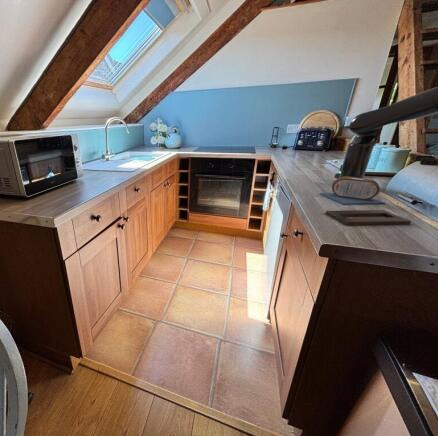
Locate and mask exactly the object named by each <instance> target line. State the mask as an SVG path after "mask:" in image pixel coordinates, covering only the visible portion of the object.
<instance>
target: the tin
mask: <svg viewBox="0 0 438 436" xmlns="http://www.w3.org/2000/svg"><path fill="white" fill-rule="evenodd" d="M331 191H332V193H334V194H336V195H337V196H340V197H346V198H354V199H361V200H368V199H371V198H373V199H374V198H375V197H376V196H377V195H378V194H379V192H380V184H379V183H378V182H377V181H376V180H374V179H372V178H366V177H364V178H356V177H340V178H338V179H337V178H335V180H334V181H333V182H332V184H331Z"/></svg>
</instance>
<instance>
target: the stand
mask: <svg viewBox="0 0 438 436" xmlns="http://www.w3.org/2000/svg"><path fill="white" fill-rule="evenodd" d="M325 215H327V216H329V217H330V218H332V219H333V220H336V221H337V222H340V223H341V224H343V225H345V226H391V225H393V226H394V225H399V226H401V225H404V226H405V225H411V223H412V220H410V219H407V218H405V217H403V216H399V215H397V214H395V213H392V212H390V211H388V210H384V209H363V210H358V209H357V210H353V209H351V210H325Z"/></svg>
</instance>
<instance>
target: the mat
mask: <svg viewBox="0 0 438 436" xmlns="http://www.w3.org/2000/svg"><path fill="white" fill-rule="evenodd" d="M320 196H323V197H325V198H327V199H330V200H332V201H335V202H336V203H338V204H340V205H385V204H386V202H384V201H381V200H378V199H376V198H374V197H373V198H371V199H368V200H361V199H354V198H346V197H340V196H337V195H336V194H334V192H320Z"/></svg>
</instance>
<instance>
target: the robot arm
mask: <svg viewBox="0 0 438 436" xmlns="http://www.w3.org/2000/svg"><path fill="white" fill-rule="evenodd" d="M436 114H438V86H435V87H432V88H429V89H426V90H424V91H422V92H419V93H417V94H413V95H411V96H409V97H406V98H403V99H401V100H399V101H397V102H394V103H392V104H389V105H386V106H383V107H380V108H376V109H373V110H368V111H365V112H362V113H359V114H357V115H356V116H355V117H354V118H352V120H351V121H350V123H349V125H348V129H349V131H350V132H351V133H353V134H355V137H354V139H353V140H352V141H350V142H349V143H348V145H347V148H346V152H345V155H344V159H343V162H342V164H341V165H340V167H339V170H338V173H335V174H334V177H333V178H334V179H338V178H340V177H356V178H365V174H366V172H367V168H368V166H369V162H370V159H371V156H372V154H373V150H374V148H375V146H376V145H377V143H378V141H379V139H380V137H381V134H382V131H383V128H384V127H385V126H388V125H391V124H396V123H401V122H406V121H413V120H417V119H423V118H426V117H429V116H433V115H436ZM413 160H414V162H419V165H420V166H431V167H437V168H438V154H435V153H434V154H430V155H427V154H417V155H415V156H414V159H413Z"/></svg>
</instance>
